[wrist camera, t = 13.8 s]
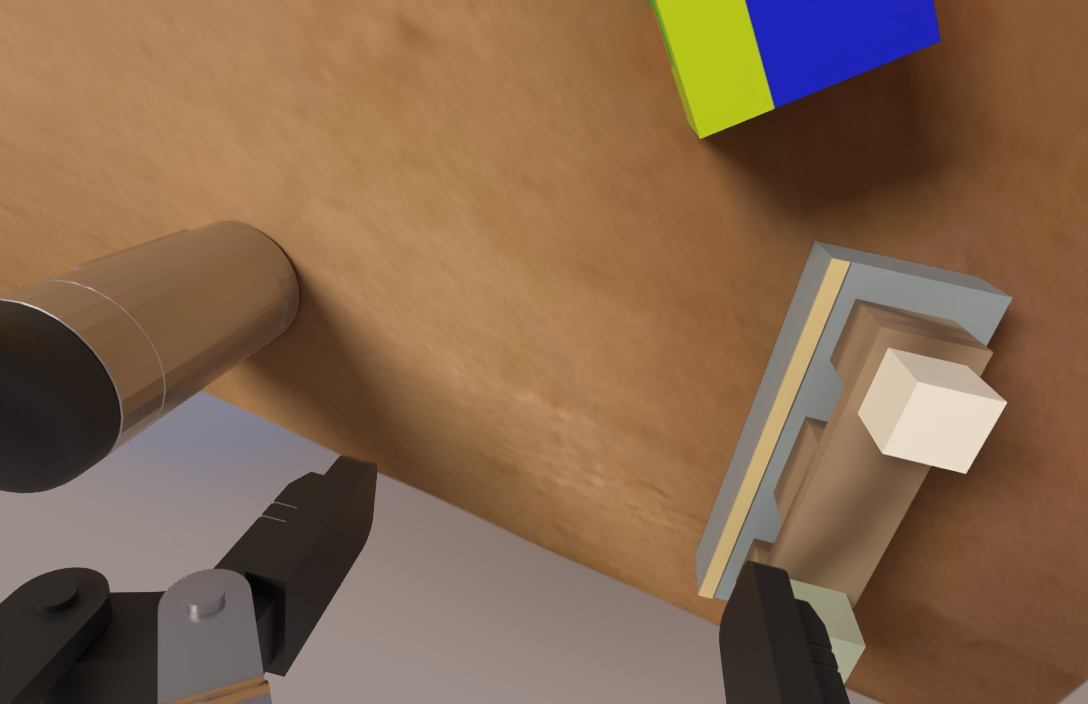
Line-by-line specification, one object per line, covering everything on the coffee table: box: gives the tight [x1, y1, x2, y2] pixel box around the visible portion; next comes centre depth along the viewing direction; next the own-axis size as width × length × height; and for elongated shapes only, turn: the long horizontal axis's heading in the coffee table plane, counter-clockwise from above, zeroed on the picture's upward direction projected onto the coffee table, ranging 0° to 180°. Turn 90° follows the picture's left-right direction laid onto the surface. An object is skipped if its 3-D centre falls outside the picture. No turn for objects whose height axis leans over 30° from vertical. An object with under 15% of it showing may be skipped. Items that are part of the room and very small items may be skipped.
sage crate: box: [790, 579, 866, 683], centre depth 38 cm, size 4×4×4 cm
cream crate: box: [858, 348, 1007, 474], centre depth 31 cm, size 4×4×4 cm
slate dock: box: [695, 241, 1012, 601], centre depth 42 cm, size 10×26×4 cm, turn 169°
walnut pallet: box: [736, 299, 993, 610], centre depth 38 cm, size 6×22×4 cm, turn 169°
